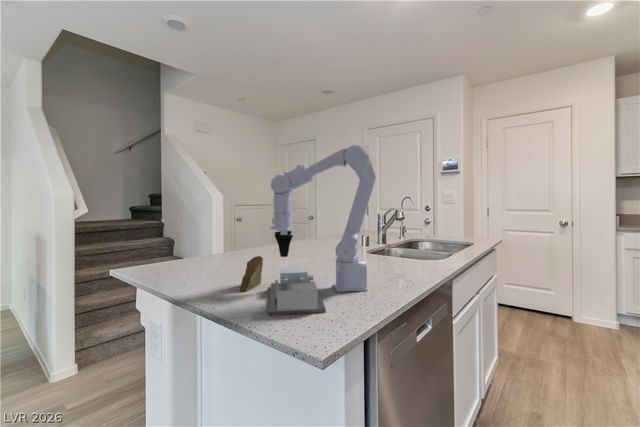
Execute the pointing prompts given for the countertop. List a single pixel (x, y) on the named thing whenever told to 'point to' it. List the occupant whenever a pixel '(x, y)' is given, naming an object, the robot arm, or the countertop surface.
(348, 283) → the robot arm
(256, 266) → the rock
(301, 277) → the pale blue-grey box
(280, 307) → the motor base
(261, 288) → the countertop surface
